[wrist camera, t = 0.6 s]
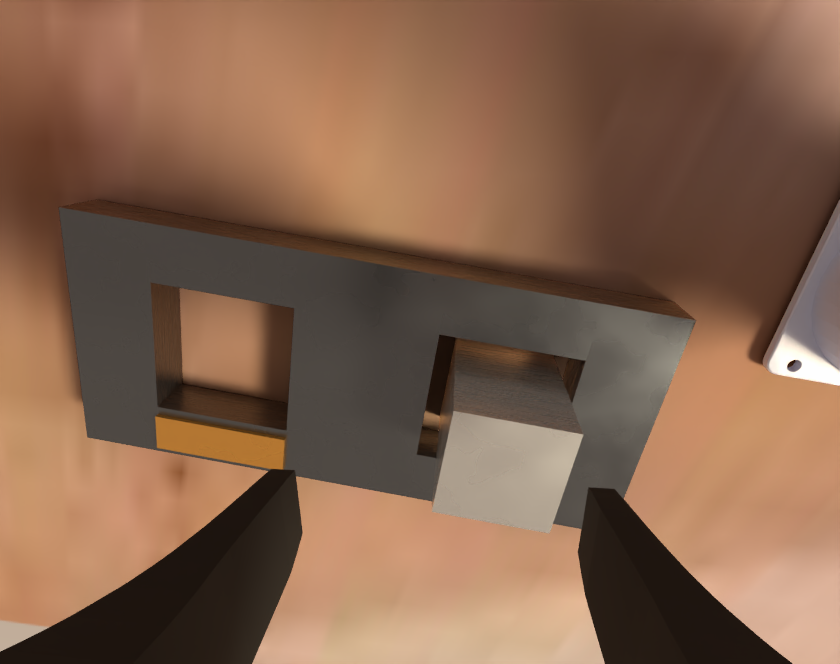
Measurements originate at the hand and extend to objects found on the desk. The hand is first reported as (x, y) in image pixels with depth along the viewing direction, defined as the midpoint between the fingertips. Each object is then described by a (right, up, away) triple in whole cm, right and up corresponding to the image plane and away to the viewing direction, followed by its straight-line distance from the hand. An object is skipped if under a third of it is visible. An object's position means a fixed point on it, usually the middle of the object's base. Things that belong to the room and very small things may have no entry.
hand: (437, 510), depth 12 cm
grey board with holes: (-3, +3, +9) cm, 10 cm away
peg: (+3, +2, +9) cm, 10 cm away
